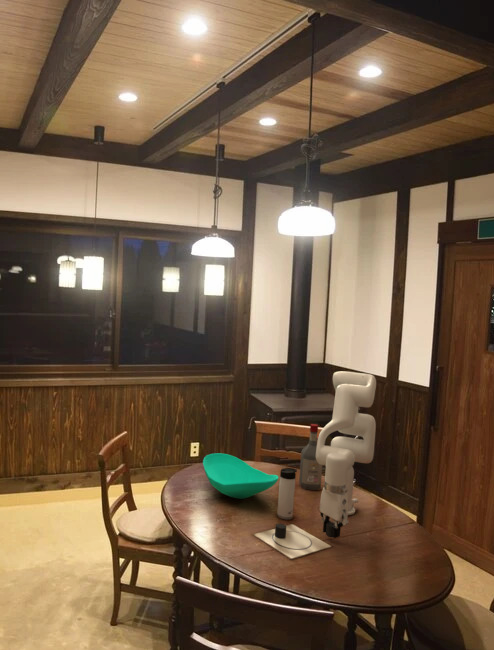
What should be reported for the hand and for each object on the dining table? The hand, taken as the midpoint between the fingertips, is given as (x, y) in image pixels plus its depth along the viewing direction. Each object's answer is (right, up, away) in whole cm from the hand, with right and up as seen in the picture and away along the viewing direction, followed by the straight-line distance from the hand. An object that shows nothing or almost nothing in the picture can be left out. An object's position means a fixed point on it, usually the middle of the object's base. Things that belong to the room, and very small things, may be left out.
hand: (331, 533), depth 200 cm
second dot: (0, 0, 0) cm, 0 cm away
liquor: (+5, 0, +55) cm, 56 cm away
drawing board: (-15, -2, -2) cm, 15 cm away
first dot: (-19, -1, 0) cm, 19 cm away
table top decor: (-31, +1, +39) cm, 50 cm away
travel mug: (-13, -1, +20) cm, 24 cm away
